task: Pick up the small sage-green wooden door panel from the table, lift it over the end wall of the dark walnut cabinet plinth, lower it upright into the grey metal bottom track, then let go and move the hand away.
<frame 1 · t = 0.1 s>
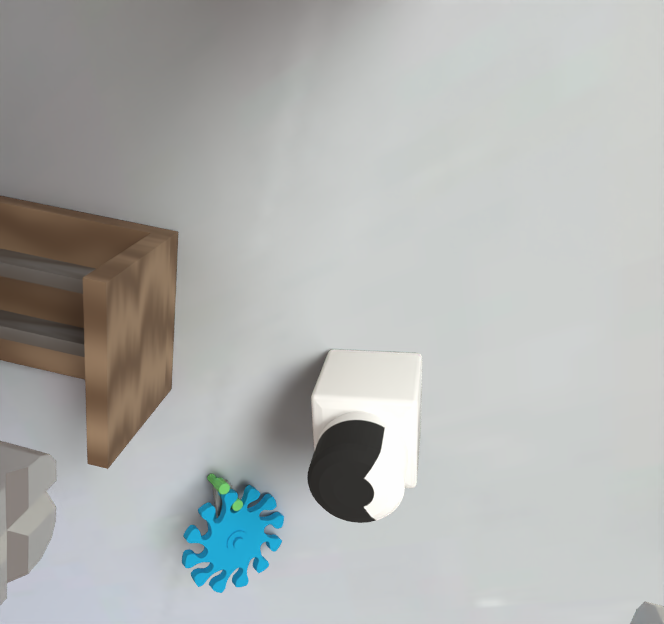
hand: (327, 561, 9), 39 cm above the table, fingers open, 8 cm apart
container: (375, 389, 53), on the table
gear: (246, 504, 60), on the table
cabinet base: (33, 284, 54), on the table
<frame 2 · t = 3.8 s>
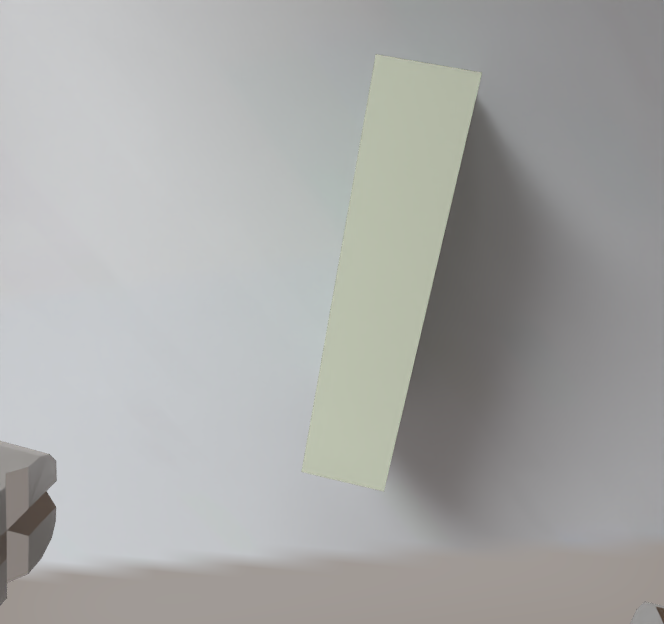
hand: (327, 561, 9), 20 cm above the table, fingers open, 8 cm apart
door panel: (394, 244, 27), on the table
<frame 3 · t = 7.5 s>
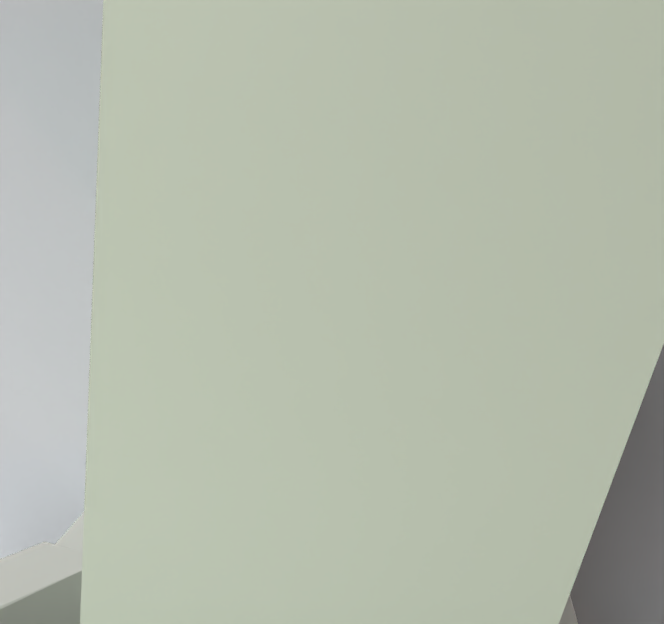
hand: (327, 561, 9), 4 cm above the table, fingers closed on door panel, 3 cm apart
door panel: (362, 419, 12), on the table, touching gripper
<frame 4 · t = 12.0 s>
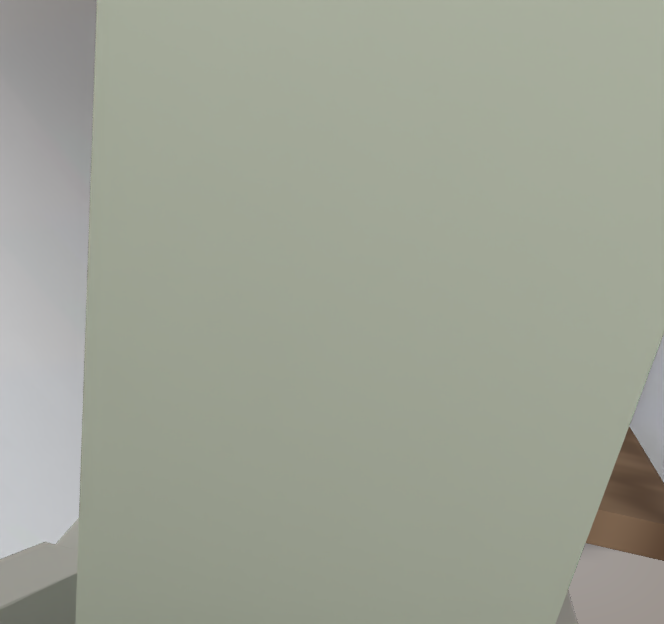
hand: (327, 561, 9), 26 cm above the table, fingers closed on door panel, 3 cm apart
cabinet base: (528, 167, 31), on the table
door panel: (360, 422, 12), point 22 cm above the table, touching gripper
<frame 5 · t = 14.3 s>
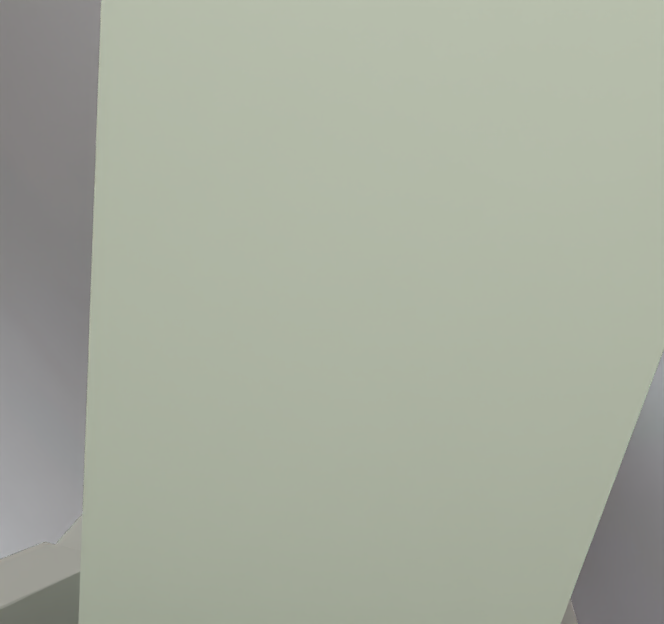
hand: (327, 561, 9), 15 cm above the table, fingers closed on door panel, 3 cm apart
door panel: (361, 422, 12), point 11 cm above the table, touching gripper
when the fingers open (7 cm above the table, at t = 16.6 s): door panel drops 1 cm, resting on cabinet base.
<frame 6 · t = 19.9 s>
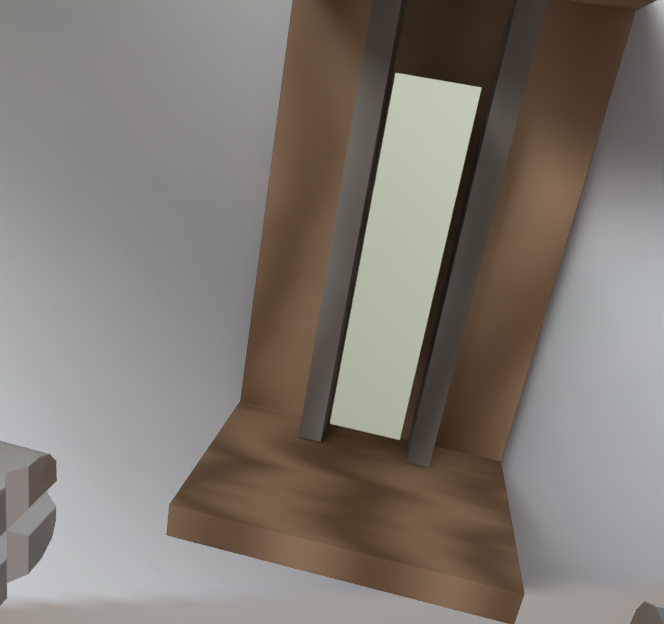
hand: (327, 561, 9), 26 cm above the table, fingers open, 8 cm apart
cabinet base: (410, 229, 33), on the table
door panel: (407, 234, 31), point 1 cm above the table, touching cabinet base
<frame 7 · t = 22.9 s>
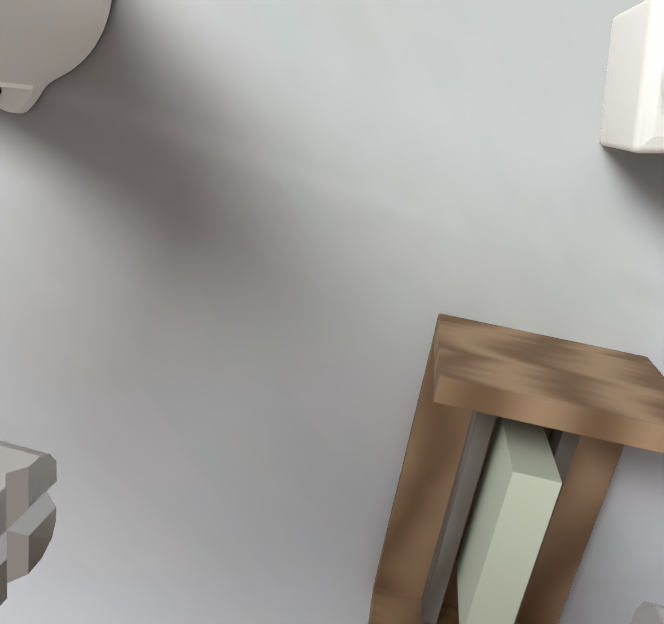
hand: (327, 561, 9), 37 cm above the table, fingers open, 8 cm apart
cabinet base: (496, 484, 49), on the table
door panel: (496, 495, 48), point 1 cm above the table, touching cabinet base
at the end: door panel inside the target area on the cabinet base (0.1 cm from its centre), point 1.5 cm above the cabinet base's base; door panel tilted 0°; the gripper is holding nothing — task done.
